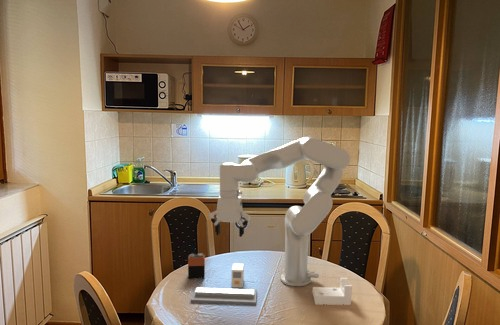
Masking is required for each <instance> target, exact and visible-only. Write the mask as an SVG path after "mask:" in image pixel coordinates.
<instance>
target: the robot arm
mask: <svg viewBox="0 0 500 325" xmlns="http://www.w3.org/2000/svg"><path fill="white" fill-rule="evenodd" d="M307 159H308V160H311V161H313V162H315V163H317V164H320V165H323V166H322V171H321V173H320V174H319V176H317V178H316V180H314V182H312V184H311V185H310V186H309V188H308V189H307V190H305V192H304V194H303V197H302V199H303V204H304V205H303V206H301V205H293V206H290V207H289V208H288V209H287V210H286V212H285V215H284V227H285V228H284V229H285V231H284V232H285V239H284V240H285V241H284V242H285V244H284V246H285V247H284V270H283V271H284V272H283V273H282V274H281V275H280V282H282V283H283V284H285V285H287V286H292V287H304V286H308V285H309V284H310V283H311V282H312V281H311V279H312V278H313V279H319V273H318V272H316V271H314V270H313V271H310V270H309V268H308V260H309V258H308V257H309V235H310V234H312V233H313V232H314V231H315V230H316V229H317V228H318V227H319V225H320V224H321V223H323V221H324V220H325V218H326V217H327V216H328V215H329V213H330V212H331V210H332V208H333V203H334V202H333V197H332V194H333V193H334V192H335V190H336V189H337V188H338V187H339V185H340V184H341V183H342V182H341V181H342V179H343V175H344V174H343V173H344V169H345V168H347V167H348V166H349V165H350V163H351V156H350V154H349V152H348V151H347V150H346V149H344V148H342V147H340V146H338V145H334V144H332V143H329V142H326V141H323V140H322V139H319V138H316V137H313V136H303V137H301V138H298V139H297V140H293V141H291V142H289V143H286V144H284V145H282V146H279V147H277V148H274V149H271V150H268V151H266V152H262V153H260V154H257V155H255V156H252V157H250V158H248V159H245V160H243V161H241V163H240V164H237V163H234V162H223V163H221V164H220V165H219V196H218V199H217V205H216V210H214V211H212V212H210V213H209V214H208V217H209V219H210V222H212V223H213V224H214V225H213V226H214V232H215V235H216V236H219V235H220V234H221V222H224V223H237V224H238V225H239V227H238V229H239V230H238V231H239V232H238V233H239V234H238V236H239V237H243V235H244V234H245V226H246V225H247V224H248V222H249V221H250V219H251V215H250V214H248V213H246V212H244V211H243V202H242V195H243V191H241V190H240V189H239V188H240V187H239V182H240V183H241V182H242V183H252V182H255V181H256V180H257V179H258V177H259V174H261V173H264V172H266V171H270V170H275V169H276V170H280V169H286V168H288V167H290V166H292V165H295V164H297V163H299V162H301V161H302V162H303V161H305V160H307ZM215 215H216V218H215V217H214V216H215ZM243 217H244V218H245V220H243Z"/></svg>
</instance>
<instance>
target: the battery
mask: <svg viewBox="0 0 500 325" xmlns="http://www.w3.org/2000/svg"><path fill="white" fill-rule="evenodd" d="M187 257H188V258H187V265H188V267H187V268H188V269H187V277H188V279H190V280H191V279H193V280H194V279H204V278H205V274H206V272H205V271H206V270H205V269H206V268H205V267H206V266H205V264H206V262H205V261H206V260H205V257H206V255H205V254H204V253H201V252H200V253H199V252H198V253H197V254H195V253H191V254H189V255H188V256H187Z"/></svg>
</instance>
